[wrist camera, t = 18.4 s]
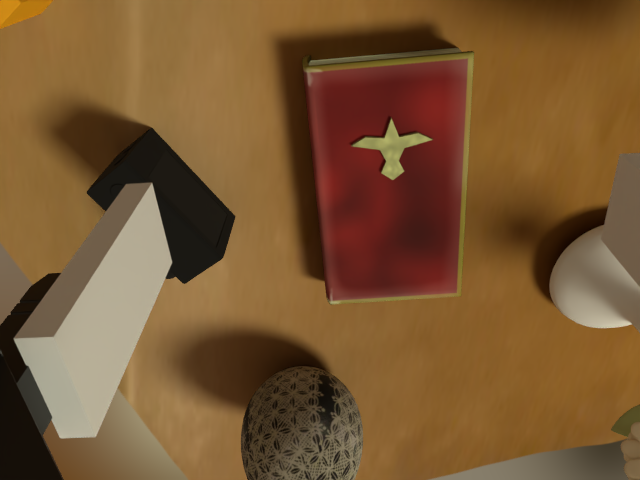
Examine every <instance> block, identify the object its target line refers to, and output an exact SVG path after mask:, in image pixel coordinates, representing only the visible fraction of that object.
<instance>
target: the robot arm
mask: <svg viewBox="0 0 640 480" xmlns="http://www.w3.org/2000/svg"><path fill="white" fill-rule="evenodd" d="M601 240H602V242H603V243H604V244H605V245H606V247H607V248H608V249H609V250H610V251H611V253H612V254H613V255H614V256H615V258H616V259H617V260H618V261H619V262H620V264H621V265H622V266H623V267H624V269H625V270H626V271H627V272H628V273H629V275H630V276H631V277H632V278H633V280H634V281H635V282H636V283H637V285H638V286H639V287H640V153H631V154H620V156H619V160H618V165H617V169H616V174H615V178H614V183H613V187H612V192H611V196H610V201H609V205H608V210H607V214H606V219H605V223H604V228H603V232H602V237H601ZM171 264H172V260H171V256H170V252H169V248H168V244H167V240H166V236H165V232H164V228H163V224H162V220H161V216H160V212H159V208H158V204H157V200H156V196H155V192H154V188H153V184H152V183H136V184H126V185H125V186H124V188H123V189H122V190H121V192H120V193H119V194H118V196H117V197H116V199H115V200H114V201H113V203H112V204H111V205H110V207H109V208H108V210H107V211H106V212H105V214H104V215H103V216H102V218H101V219H100V220H99V222H98V223H97V225H96V226H95V227H94V229H93V230H92V231H91V233H90V234H89V236H88V237H87V238H86V240H85V241H84V242H83V244H82V245H81V247H80V248H79V249H78V251H77V252H76V253H75V255H74V256H73V258H72V259H71V260H70V262H69V263H68V264H67V266H66V267H65V269H64V270H63V271H62V273H51V274H48V275H46V276H45V277H43V278H42V279H41V280H39V281H38V282H36V283H35V284H34V285H32V286H31V287H30V288H29V289H28V291H27V292H26V293H25V295H24V296H23V297H22V298H21V300H20V303H18V304H17V305H16V306H15V307H14V309H13V310H12V311H11V315H8V316H7V318H6V319H5V320H4V322H3V323H2V324H1V325H0V480H64V479H63V477H62V475H61V473H60V471H59V469H58V467H57V465H56V463H55V461H54V458H53V456H52V454H51V452H50V450H49V448H48V446H47V444H46V442H45V440H44V438H43V434H44V432H45V430H46V428H47V426H48V424H49V423H50V421H51V420H52V422H53V424H54V426H55V428H56V430H57V432H58V434H59V437H60V438H82V437H96V435H97V433H98V431H99V428H100V426H101V424H102V422H103V419H104V417H105V415H106V412H107V410H108V408H109V405H110V403H111V401H112V399H113V396H114V394H115V392H116V390H117V387H118V385H119V383H120V381H121V378H122V376H123V374H124V371H125V369H126V367H127V365H128V362H129V360H130V358H131V355H132V353H133V351H134V349H135V346H136V344H137V342H138V339H139V337H140V335H141V333H142V330H143V328H144V326H145V323H146V321H147V319H148V317H149V314H150V312H151V310H152V308H153V305H154V303H155V301H156V298H157V296H158V294H159V292H160V289H161V287H162V285H163V282H164V280H165V278H166V276H167V273H168V271H169V269H170V266H171Z"/></svg>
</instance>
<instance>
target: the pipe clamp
mask: <svg viewBox="0 0 640 480" xmlns="http://www.w3.org/2000/svg"><path fill="white" fill-rule="evenodd" d="M52 1H53V0H0V29H1V28H4V27H6V26H9V25H12V24H14V23H17V22H20V21H23V20H25V19H28V18H31V17H33V16H36V15H39V14H41V13H42V12H43V11H44V10H45V9H46V8H47V7H48V6H49V4H50V3H51V2H52Z"/></svg>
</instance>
